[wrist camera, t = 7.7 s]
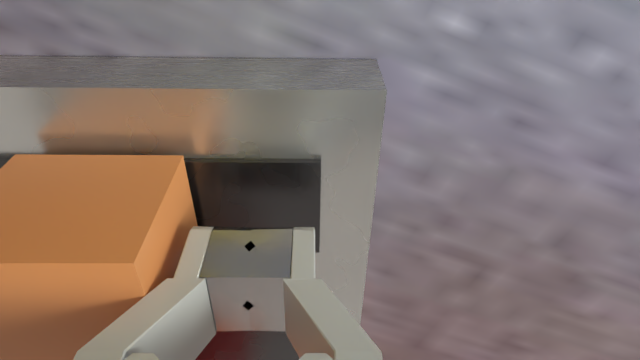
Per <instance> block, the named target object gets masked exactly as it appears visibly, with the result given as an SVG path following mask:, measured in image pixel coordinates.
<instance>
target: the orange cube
mask: <svg viewBox="0 0 640 360" xmlns="http://www.w3.org/2000/svg"><path fill="white" fill-rule="evenodd" d="M193 226H198V225H197V220H196V216H195V211H194V206H193V201H192V196H191V191H190V186H189V182H188V177H187V172H186V167H185V162H184V157H183V155H43V154H15V155H14V156H13V157H12V158H11V159H10V160H9V161H8V162H7V163H6V164H5V165H4V166H3V167H2V168H0V360H73V359H74V357H75V355H76V353H77V351H78V350H79V349H81V348H82V347H83V346H84V345H85V344H87V343H88V342H89V341H90V340H92V339H93V338H94V337H95V336H97V335H98V334H99V333H100V332H101V331H103V330H104V329H105V328H106V327H108V326H109V325H110V324H111V323H112V322H114V321H115V320H116V319H117V318H119V317H120V316H121V315H122V314H124V313H125V312H126V311H127V310H128V309H130V308H131V307H132V306H133V305H135V304H136V303H137V302H138V301H140V300H141V299H142V298H143V297H144V296H146V295H147V294H148V293H149V292H151V291H152V290H153V289H154V288H155V287H157V286H158V285H159V284H160V283H162V282H163V281H164V280H165V279H167V278H173V277H174V274H175V271H176V269H177V266H178V263H179V260H180V257H181V254H182V251H183V248H184V245H185V242H186V240H187V237H188V234H189V231H190V230H191V228H192V227H193Z"/></svg>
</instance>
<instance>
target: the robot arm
mask: <svg viewBox="0 0 640 360" xmlns="http://www.w3.org/2000/svg"><path fill="white" fill-rule="evenodd" d="M216 331H285V332H286V335H287V337H288V338H289V340H290V342H291V344H292V345H293V347H294V349H295V351H296V353H297V354H298V356H299V358H300V359H299V360H383V358H382V352H381V351H380V349H379V348H378V347H377V346H376V344H375V343H374V342H373V341H372V340H371V338H370V337H369V336H368V335H367V334H366V332H365V331H364V330H363V329H362V327H361V326H360V325H359V324H358V323H357V321H356V320H355V319H354V318H353V317H352V315H351V314H350V313H349V312H348V310H347V309H346V308H345V307H344V306H343V304H342V303H341V302H340V301H339V299H338V298H337V297H336V296H335V295H334V293H333V292H332V291H331V290H330V289H329V287H328V286H327V285H326V284H325V282H324V281H323V280H322V279H315V229H314V227H294V229H293V227H261V228H251V227H217V226H215V227H202V226H193V227H192V228H191V230H190V231H189V234H188V237H187V240H186V242H185V245H184V248H183V251H182V254H181V257H180V260H179V263H178V266H177V269H176V271H175V274H174V277H173V278H167V279H165V280H164V281H163V282H162V283H160V284H159V285H158V286H157V287H155V288H154V289H153V290H152V291H151V292H149V293H148V294H147V295H146V296H144V297H143V298H142V299H141V300H140V301H138V302H137V303H136V304H135V305H133V306H132V307H131V308H130V309H128V310H127V311H126V312H125V313H124V314H122V315H121V316H120V317H119V318H117V319H116V320H115V321H114V322H112V323H111V324H110V325H109V326H108V327H106V328H105V329H104V330H103V331H101V332H100V333H99V334H98V335H97V336H95V337H94V338H93V339H92V340H90V341H89V342H88V343H87V344H85V345H84V346H83V347H82V348H81V349H79V350H78V351H77V353H76V355H75V357H74V359H73V360H195V359H196V358H197V357H198V355H199V354H200V353H201V352H202V351H203V349H204V348H205V347H206V346H207V344H208V343H209V342H210V341H211V339H212V338H213V337H214V336H215V335H216Z"/></svg>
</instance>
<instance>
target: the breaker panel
mask: <svg viewBox="0 0 640 360" xmlns="http://www.w3.org/2000/svg"><path fill="white" fill-rule="evenodd" d="M386 94H387V89H386V86H385V83H384V80H383V77H382V74H381V71H380V68H379V65H378V62H377V60H369V59H270V58H172V57H73V56H0V168H2V167H3V166H4V165H5V164H6V163H7V162H8V161H9V160H10V159H11V158H12V157H13V156H14V155H15V154H43V155H183V157H184V162H185V167H186V172H187V177H188V182H189V186H190V191H191V196H192V201H193V206H194V211H195V216H196V220H197V225H198V226H202V227H215V226H217V227H251V228H261V227H293V229H294V227H314V229H315V279H322V280H323V281H324V282H325V284H326V285H327V286H328V287H329V289H330V290H331V291H332V292H333V293H334V295H335V296H336V297H337V298H338V299H339V301H340V302H341V303H342V304H343V306H344V307H345V308H346V309H347V310H348V312H349V313H350V314H351V315H352V317H353V318H354V319H355V320H356V321H357V323H358V324H359V325H360V322H361V313H362V304H363V296H364V287H365V278H366V269H367V261H368V252H369V243H370V234H371V226H372V217H373V208H374V199H375V191H376V182H377V173H378V164H379V156H380V147H381V138H382V129H383V121H384V112H385V103H386ZM299 359H300V358H299V356H298V354H297V353H296V351H295V349H294V347H293V345H292V344H291V342H290V340H289V338H288V337H287V335H286V332H285V331H216V335H215V336H214V337H213V338H212V339H211V341H210V342H209V343H208V344H207V346H206V347H205V348H204V349H203V351H202V352H201V353H200V354H199V355H198V357H197V358H196V359H195V360H299Z"/></svg>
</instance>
